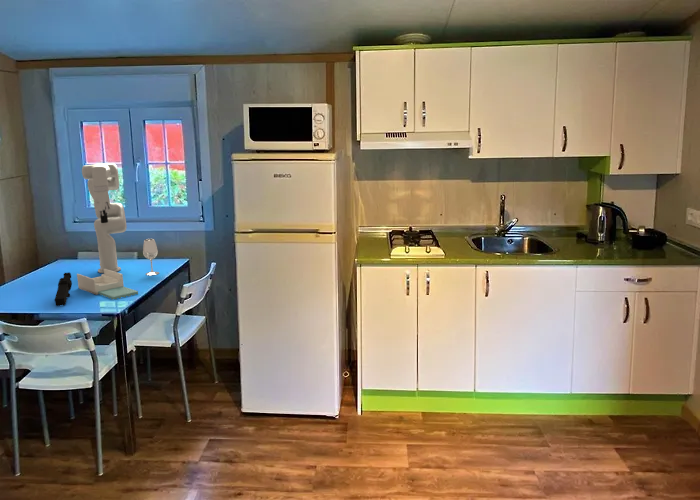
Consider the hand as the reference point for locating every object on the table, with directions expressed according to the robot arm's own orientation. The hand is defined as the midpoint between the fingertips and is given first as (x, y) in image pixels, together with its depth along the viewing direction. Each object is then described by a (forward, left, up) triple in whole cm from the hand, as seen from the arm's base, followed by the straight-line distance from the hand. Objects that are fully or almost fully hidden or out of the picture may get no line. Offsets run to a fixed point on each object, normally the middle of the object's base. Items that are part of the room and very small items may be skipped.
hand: (104, 222), depth 327 cm
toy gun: (+20, -33, -32) cm, 50 cm away
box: (+14, -12, -32) cm, 37 cm away
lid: (+32, -12, -33) cm, 47 cm away
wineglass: (+6, +22, -32) cm, 40 cm away
